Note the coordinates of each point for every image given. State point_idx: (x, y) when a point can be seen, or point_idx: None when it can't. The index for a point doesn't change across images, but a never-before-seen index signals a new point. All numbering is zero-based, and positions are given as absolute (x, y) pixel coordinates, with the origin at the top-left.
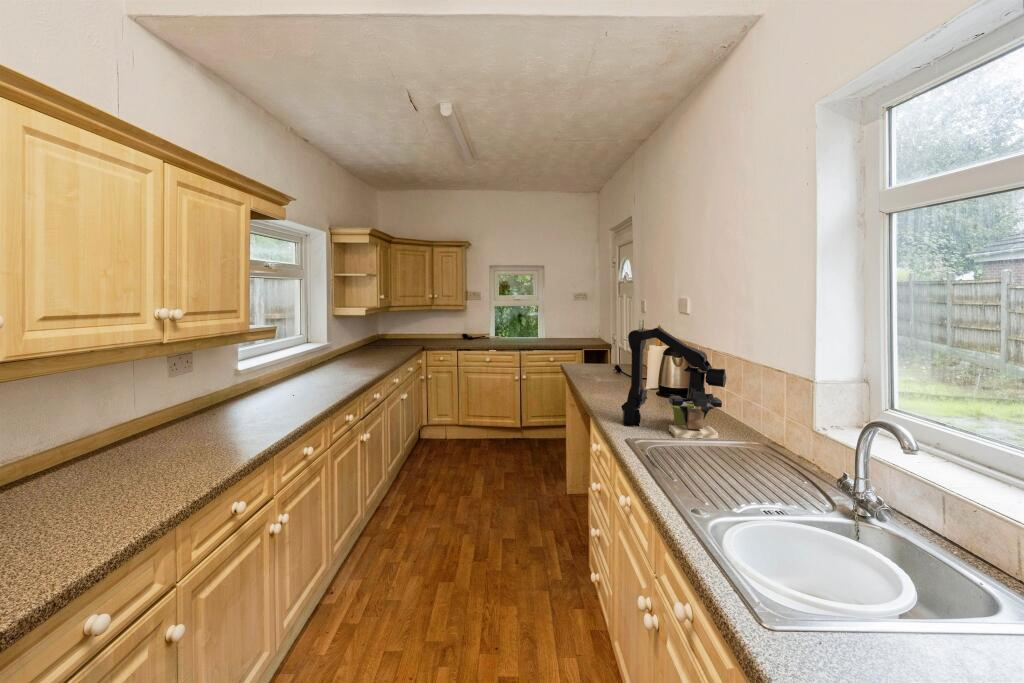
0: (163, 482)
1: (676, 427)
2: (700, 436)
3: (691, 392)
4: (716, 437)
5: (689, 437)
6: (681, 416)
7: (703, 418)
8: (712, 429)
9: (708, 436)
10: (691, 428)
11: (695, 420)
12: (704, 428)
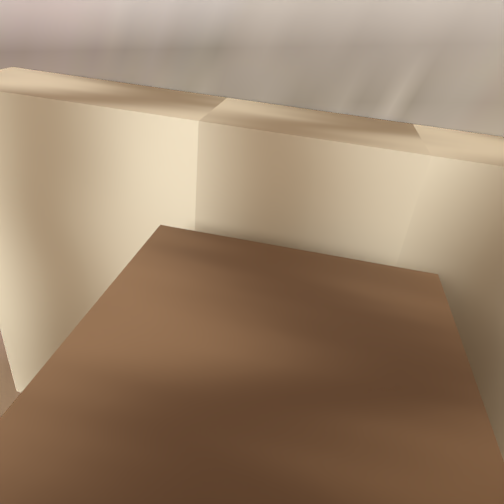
0: None
1: None
2: (254, 110)
3: None
4: (10, 74)
5: (437, 130)
6: None
7: (35, 378)
8: (4, 286)
9: (124, 96)
10: (374, 263)
11: (287, 374)
12: None
